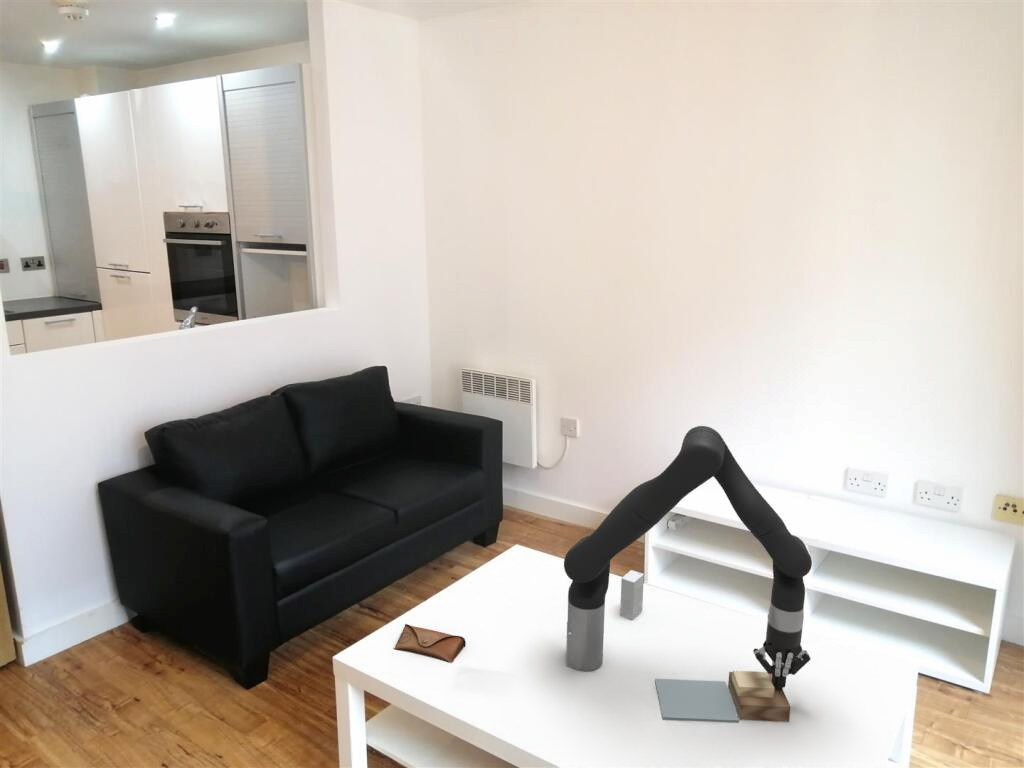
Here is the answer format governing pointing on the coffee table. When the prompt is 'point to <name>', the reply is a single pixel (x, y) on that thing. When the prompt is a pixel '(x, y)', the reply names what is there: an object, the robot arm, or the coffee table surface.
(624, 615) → the skincare box
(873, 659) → the coffee table surface
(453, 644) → the sunglasses case
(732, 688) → the block
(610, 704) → the coffee table surface
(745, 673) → the oak tile
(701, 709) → the grey mat
